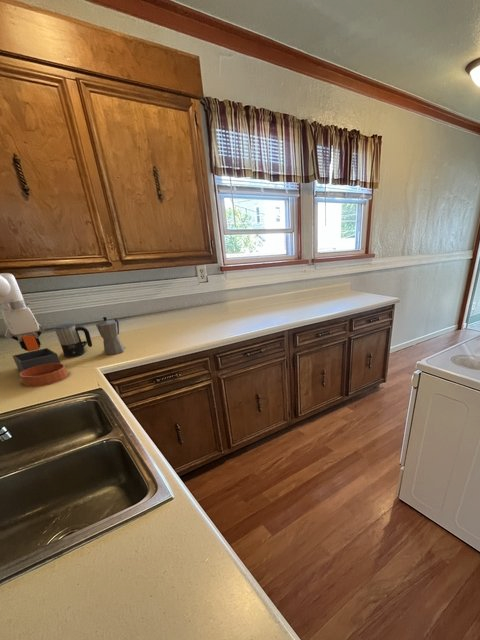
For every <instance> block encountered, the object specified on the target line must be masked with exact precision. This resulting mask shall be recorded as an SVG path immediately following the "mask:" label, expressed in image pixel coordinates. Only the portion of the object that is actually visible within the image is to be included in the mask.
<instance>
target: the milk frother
mask: <svg viewBox="0 0 480 640" xmlns="http://www.w3.org/2000/svg"><path fill="white" fill-rule="evenodd" d="M52 329H54V332H55V335H56V336H57V339H58V343H59V344H60V347H61V349H62V353H63V356H64V357H65V358H74V357H75V358H76V357H79V356H82V355H84V354H85V353H86V351H85V347H86V346H88V347H89V348H91V347H93V342H92V338H91V333H90V331H89V330H88V328H87V327H85V326H84V325H83V326H82V325H77V326H76V324H75V323H63V324H58V325H55V326H53V327H52ZM79 331H81V332H83V333H84V336H85V340H83V341H82V339H81V336H80V334H79Z"/></svg>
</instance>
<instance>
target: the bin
mask: <svg viewBox="0 0 480 640" xmlns="http://www.w3.org/2000/svg"><path fill="white" fill-rule="evenodd" d="M12 358H13V359H12V360H13V361H14V363H15V365H16V368H17V370H18V372H19V373H21V372H22V371H24V370H26V369H28V368H31V367H34V366H38V365H42V364H49V363H61V361H60V359H59V356H58V353H56V352H55V351H53V350H51V349H50V348H48V347H46V348H41V349H40V348H39V349H38V350H34V351H27V352H23V353H19V354H14V355H12Z"/></svg>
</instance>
